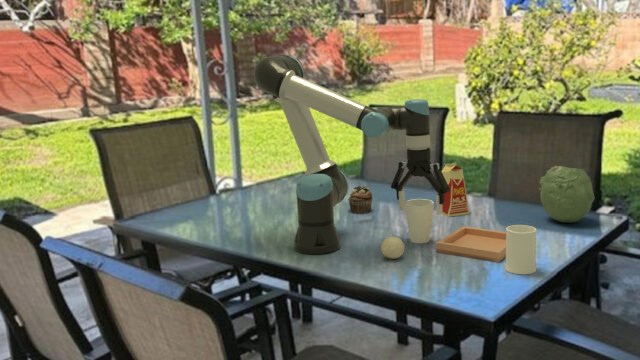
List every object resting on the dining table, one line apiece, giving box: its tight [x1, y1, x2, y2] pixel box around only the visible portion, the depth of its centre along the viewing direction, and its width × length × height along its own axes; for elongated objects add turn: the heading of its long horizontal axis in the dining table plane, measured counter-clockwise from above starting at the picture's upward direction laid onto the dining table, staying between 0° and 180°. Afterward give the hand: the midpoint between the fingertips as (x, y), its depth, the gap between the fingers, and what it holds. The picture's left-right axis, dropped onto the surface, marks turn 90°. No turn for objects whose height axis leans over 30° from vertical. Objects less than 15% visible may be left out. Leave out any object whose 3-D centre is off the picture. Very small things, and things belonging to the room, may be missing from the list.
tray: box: [436, 226, 506, 263], centre depth 198 cm, size 20×20×3 cm
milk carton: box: [440, 162, 470, 218], centre depth 237 cm, size 9×9×20 cm
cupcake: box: [347, 185, 374, 214], centre depth 247 cm, size 10×10×10 cm
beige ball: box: [380, 236, 405, 260], centre depth 192 cm, size 7×7×7 cm
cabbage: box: [538, 165, 595, 224], centre depth 218 cm, size 16×19×20 cm
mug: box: [504, 224, 537, 275], centre depth 178 cm, size 12×8×12 cm
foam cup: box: [404, 198, 435, 244], centre depth 207 cm, size 10×9×13 cm
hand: (420, 211), depth 206 cm, fingers open, 13 cm apart
